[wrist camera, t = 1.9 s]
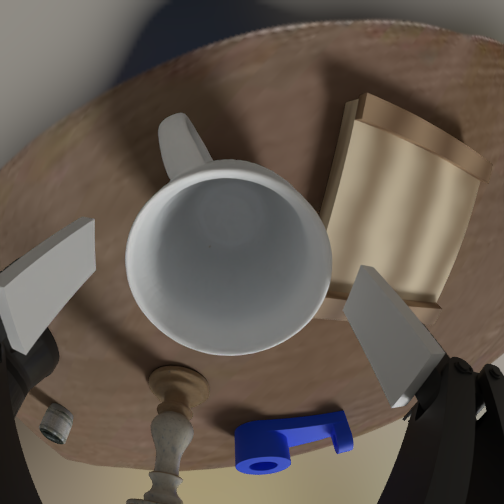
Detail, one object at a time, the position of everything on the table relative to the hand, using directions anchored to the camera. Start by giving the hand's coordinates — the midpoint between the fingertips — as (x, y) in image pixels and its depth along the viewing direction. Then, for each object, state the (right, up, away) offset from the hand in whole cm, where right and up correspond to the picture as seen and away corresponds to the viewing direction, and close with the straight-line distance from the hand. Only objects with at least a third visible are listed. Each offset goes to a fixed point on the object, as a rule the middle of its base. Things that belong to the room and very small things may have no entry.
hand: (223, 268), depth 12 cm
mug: (-1, +6, +13) cm, 14 cm away
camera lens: (-39, -33, +27) cm, 57 cm away
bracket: (+8, -30, +29) cm, 43 cm away
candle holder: (-9, -18, +22) cm, 30 cm away
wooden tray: (+17, +4, +14) cm, 23 cm away
